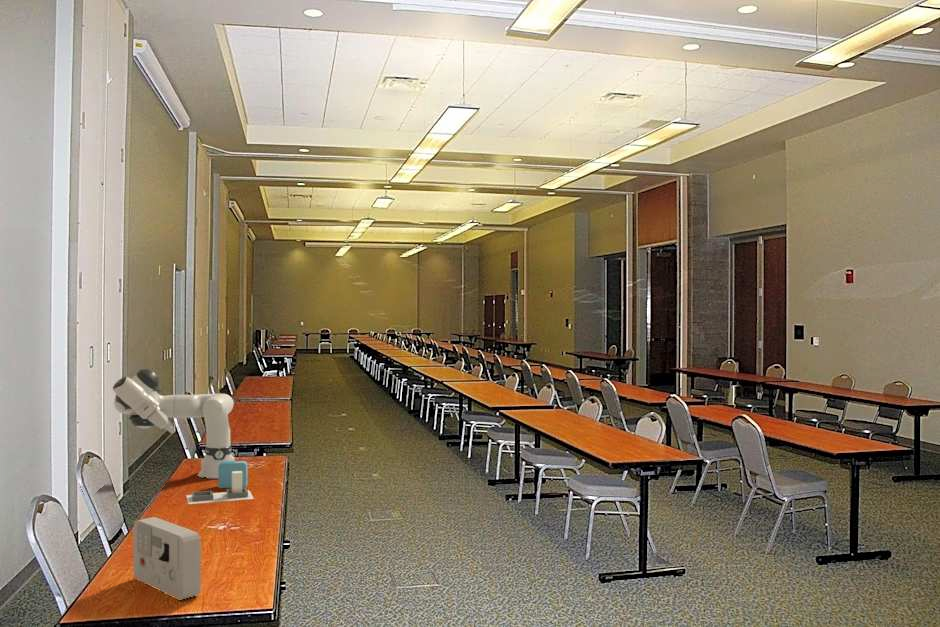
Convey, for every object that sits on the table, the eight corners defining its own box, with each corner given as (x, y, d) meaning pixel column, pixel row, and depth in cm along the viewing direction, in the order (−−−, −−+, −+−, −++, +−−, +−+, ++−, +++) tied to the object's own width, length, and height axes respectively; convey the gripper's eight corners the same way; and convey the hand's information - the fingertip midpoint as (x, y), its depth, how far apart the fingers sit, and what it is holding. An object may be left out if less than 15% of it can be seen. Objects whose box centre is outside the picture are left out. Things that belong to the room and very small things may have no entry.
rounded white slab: (125, 581, 228) (125, 520, 228) (150, 574, 234) (150, 515, 234) (175, 605, 210) (175, 539, 210) (200, 597, 216) (201, 533, 215)
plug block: (231, 494, 330) (231, 471, 330) (241, 494, 331) (241, 470, 331) (232, 497, 326) (232, 473, 326) (242, 496, 327) (242, 472, 327)
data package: (247, 487, 348) (247, 460, 348) (246, 489, 344) (246, 462, 344) (219, 487, 346) (220, 461, 346) (218, 490, 342) (218, 463, 342)
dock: (186, 497, 328) (186, 490, 328) (249, 492, 338) (249, 485, 338) (188, 506, 313) (188, 499, 313) (253, 501, 323) (254, 493, 323)
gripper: (142, 410, 327) (167, 432, 331) (142, 417, 308) (168, 440, 312) (154, 399, 329) (178, 421, 333) (154, 405, 310) (180, 428, 314)
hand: (173, 430), depth 322 cm, fingers open, 8 cm apart
